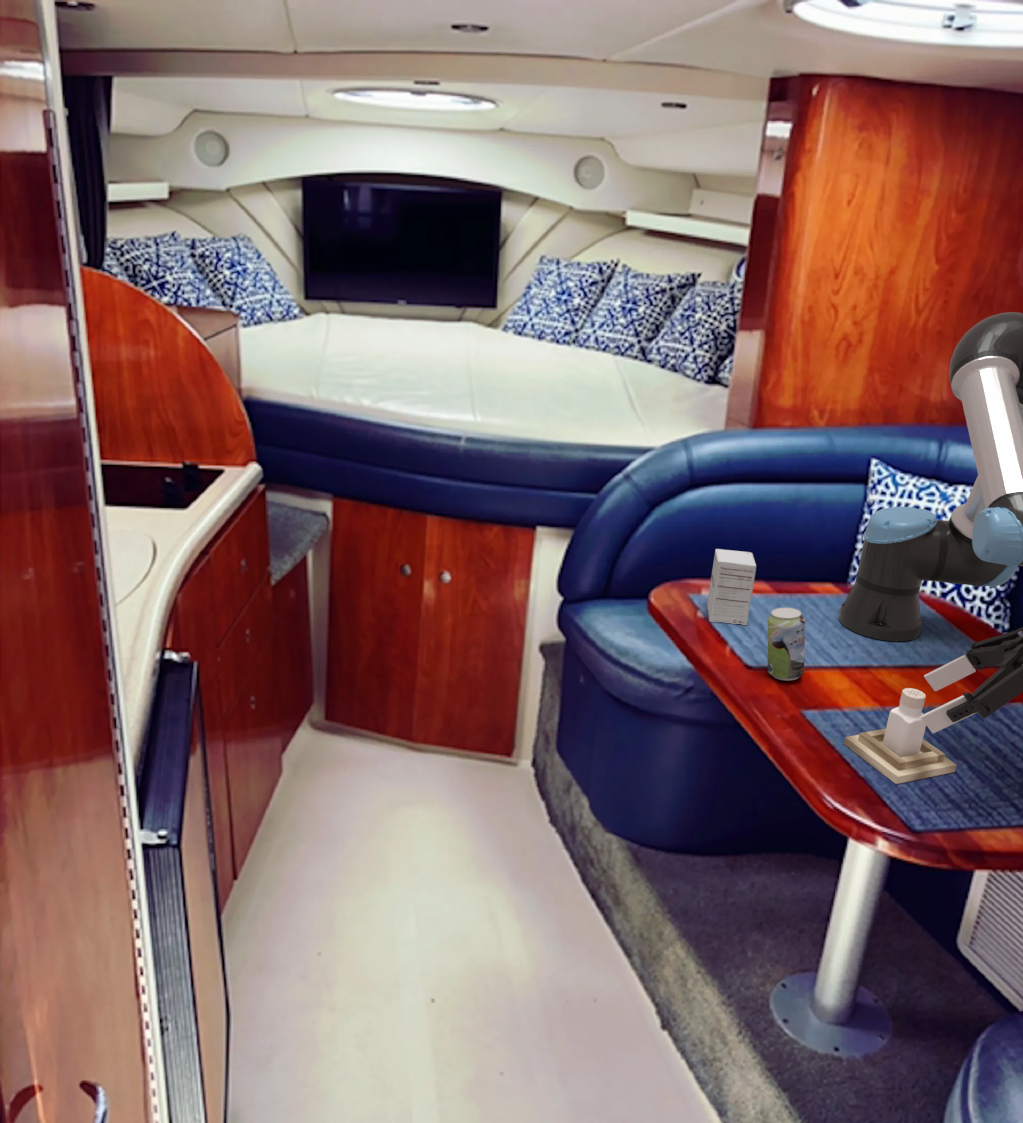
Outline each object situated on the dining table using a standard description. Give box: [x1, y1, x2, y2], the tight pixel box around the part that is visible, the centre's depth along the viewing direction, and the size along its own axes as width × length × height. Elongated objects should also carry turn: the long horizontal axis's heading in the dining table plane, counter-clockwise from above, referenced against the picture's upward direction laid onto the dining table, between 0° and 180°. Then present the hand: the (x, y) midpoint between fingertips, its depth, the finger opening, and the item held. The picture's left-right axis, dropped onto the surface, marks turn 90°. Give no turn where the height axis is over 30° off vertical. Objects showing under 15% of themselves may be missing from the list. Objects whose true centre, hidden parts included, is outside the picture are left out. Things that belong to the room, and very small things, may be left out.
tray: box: [843, 728, 958, 785], centre depth 142 cm, size 11×11×2 cm
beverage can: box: [767, 607, 806, 682], centre depth 163 cm, size 6×7×12 cm
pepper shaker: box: [883, 687, 927, 757], centre depth 140 cm, size 4×4×10 cm
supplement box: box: [706, 548, 757, 626], centre depth 186 cm, size 7×7×13 cm
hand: (928, 703), depth 138 cm, fingers open, 13 cm apart
